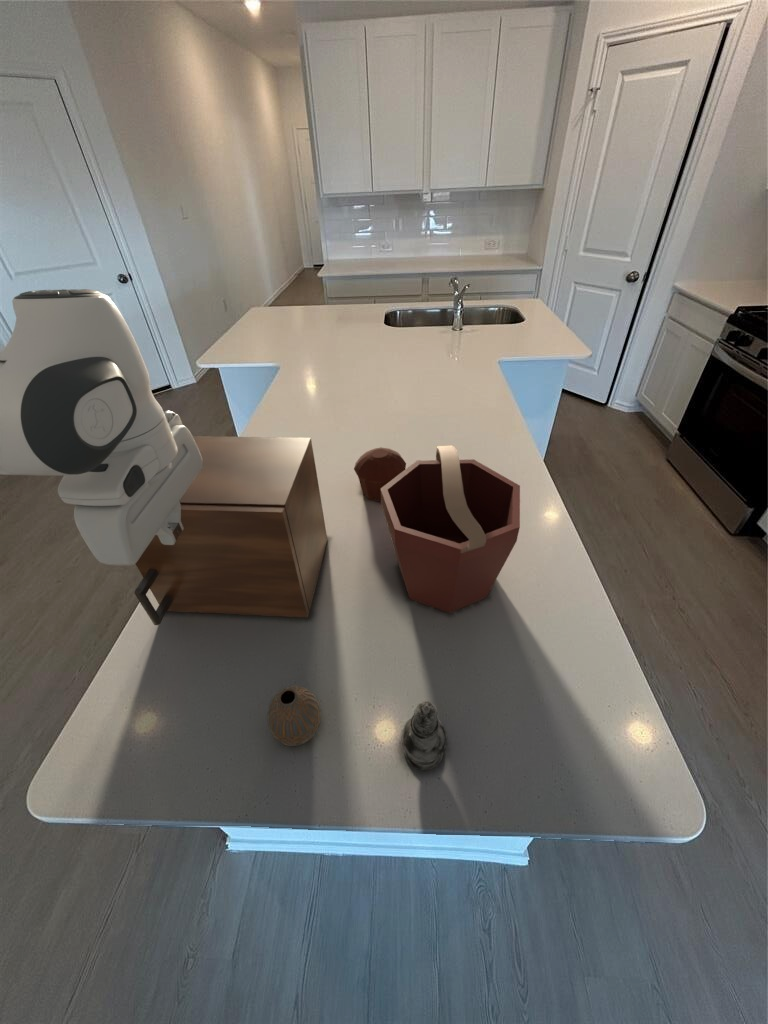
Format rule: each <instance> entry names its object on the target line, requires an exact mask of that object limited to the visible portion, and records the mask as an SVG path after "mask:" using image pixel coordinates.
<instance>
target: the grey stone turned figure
mask: <svg viewBox="0 0 768 1024" xmlns="http://www.w3.org/2000/svg"><path fill="white" fill-rule="evenodd" d="M438 713H439V712H438V709H437V707H436V705H434V704H433V703H432V702H430V701H427V700H424V701H420V702H419V703H417V705H415V707H414V710H413V715H412V716H411V718H409V719H408V720H407V721H406V723H405V724H404V725H403V727H402V730H401V736H400V737H401V738H400V739H401V745H402V747H403V754H404V756H405V759H406V761H407V763H409V765H410V766H411V767H413V768H414V769H417V770H419V771H430V770H432V769H435V768H436V767H438V766H439V764H440V763H441V761H442V759H443V756H444V753H445V751H446V748H447V746H448V735H447V731H446V729H445V726H444V725H443V724H442V722H441V721H440V719H439V717H438Z"/></svg>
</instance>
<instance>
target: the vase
mask: <svg viewBox="0 0 768 1024" xmlns="http://www.w3.org/2000/svg"><path fill="white" fill-rule="evenodd" d="M321 712H322V711H321V706H320V703H319V701H318V699H317V698H316V696H315V695H314V694H313V692H311V691H310V690H309V689H307V688H306V687H303V686H299V685H291V686H288V687H285V688H283V689H282V690H280V691H278V692H277V693H276V694H275V695H274V697H273V698H272V700H271V702H270V703H269V706H268V710H267V725H268V728H269V730H270V733H271V734H272V736H273V737H274V738H275V740H276V741H278V742H279V743H281V744H282V745H285V746H289V747H297V746H301V745H304V744H306V743H307V742H309V741H311V739H312V738H313V737H314V736H315V735H316V733H317V731H318V729H319V726H320V724H321V719H322V716H321V714H322V713H321Z"/></svg>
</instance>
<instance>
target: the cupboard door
mask: <svg viewBox="0 0 768 1024" xmlns="http://www.w3.org/2000/svg"><path fill="white" fill-rule="evenodd" d="M181 523H182V525H183V527H184V529H183V531H182V532H181V534H180V535H179V537H178V538H177V540H176V542H175V544H174V545H164V544H162V543H161V541H160V539H159V537H158V535H155V537H154V538H153V539H152V541H151V542H150V544H149V545H148V547H147V548H146V549H145V551H144V552H143V554H142V555H141V557H140V558H139V560H138V561H137V562H136V563H135V564H134V565H136V566H135V567H136V568H137V570H138V571H139V573H140V575H141V576H142V579H141V581H140V582H139V583H138V585H137V587H136V588H135V589H134V592H133V593H134V595H135V597H136V598H137V600H138V602H139V603H140V605H141V607H142V608H143V610H144V611H145V613H146V615H147V616H148V618H149V619H150V621H151V622H152V624H153V626H159V625H161V623H162V622H163V620H164V618H165V617H166V615H167V613H168V612H176V613H177V612H180V613H201V614H222V615H243V616H265V617H267V616H268V617H286V618H287V617H288V618H289V617H290V618H308V617H309V613H310V611H309V610H308V606H307V601H306V597H305V593H304V589H303V584H302V580H301V576H300V572H299V567H298V563H297V559H296V554H295V550H294V546H293V542H292V537H291V533H290V529H289V525H288V520H287V516H286V512H285V507H258V506H219V505H181ZM149 590H150V591H151V593H152V595H153V596H154V598H155V601H156V602H157V603H158V606H157V608H156V609H155V607H154V605H153V604H152V602H151V601H150V598H149V597H148V595H147V593H148V592H149Z"/></svg>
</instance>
